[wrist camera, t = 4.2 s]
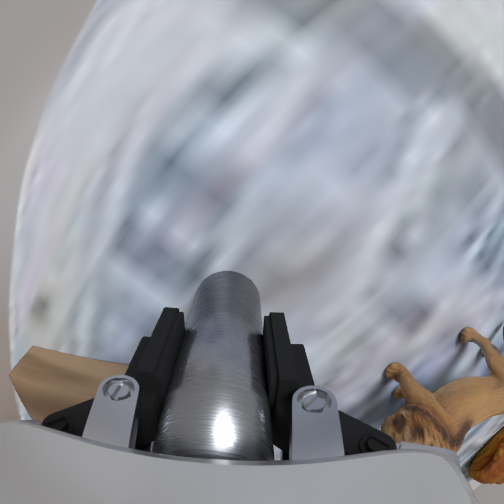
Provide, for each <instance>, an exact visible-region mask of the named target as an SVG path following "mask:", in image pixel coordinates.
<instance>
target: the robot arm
mask: <svg viewBox="0 0 504 504" xmlns="http://www.w3.org/2000/svg"><path fill="white" fill-rule="evenodd" d="M184 333H185V326H184V313H183V312H179V309H178V308H168V307H165V308H164V309H163V312H162V314H161V316H160V318H159V320H158V322H157V324H156V327H155V329H154V331H153V333H152V335H151V337H145V336H144V337H143V338H142V339H141V341H140V343H139V345H138V348H137V350H136V352H135V354H134V356H133V358H132V360H131V362H130V364H129V366H128V369H127V371H126V373H125V375H114V376H110V377H108V378H106V379H104V380H103V381H102V382H101V383H100V385H99V387H98V390H97V392H96V395H95V398H92V399H90V400H87V401H84V402H82V403H79V404H76V405H74V406H71V407H68V408H66V409H63V410H60V411H58V412H55V413H52V414H50V415H48V416H47V417H46V418H45V419H44V420H43V422H40V421H39V419H34V420H23V421H0V504H479V502H478V500H477V498H476V496H475V494H474V492H473V490H472V488H471V486H470V485H469V483H468V481H467V479H466V478H465V476H464V475H463V473H462V472H461V470H460V461H459V457H458V456H457V454H456V453H455V452H453V451H452V450H450V449H446V448H439V447H433V446H426V445H420V444H415V443H409V442H404V441H402V442H401V443H400V444H398V443H395V441H394V440H393V439H392V437H391V436H389V435H387V434H386V433H384V432H382V431H379V430H377V429H375V428H373V427H371V426H369V425H367V424H365V423H363V422H361V421H359V420H357V419H355V418H353V417H351V416H349V415H347V414H345V413H343V412H341V411H339V410H338V406H337V400H336V398H335V396H334V395H333V393H332V392H331V391H329V390H328V389H326V388H323V387H320V386H315V385H314V381H313V378H312V374H311V370H310V367H309V363H308V359H307V356H306V352H305V348H304V346H303V344H291V343H290V339H289V334H288V330H287V325H286V321H285V316H284V313H273V312H270V314H269V316H264V326H263V344H264V355H265V366H266V378H267V389H268V400H269V407H270V416H271V427H272V438H273V444H274V445H275V446H276V447H278V448H279V449H281V458H280V461H237V460H216V459H202V458H191V457H182V456H174V455H166V454H160V453H153V452H151V451H152V448H153V444H154V440H155V436H156V432H157V428H158V424H159V421H160V417H161V413H162V410H163V406H164V402H165V399H166V395H167V391H168V388H169V384H170V381H171V377H172V374H173V370H174V367H175V363H176V360H177V357H178V353H179V350H180V346H181V343H182V340H183V336H184Z"/></svg>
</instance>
